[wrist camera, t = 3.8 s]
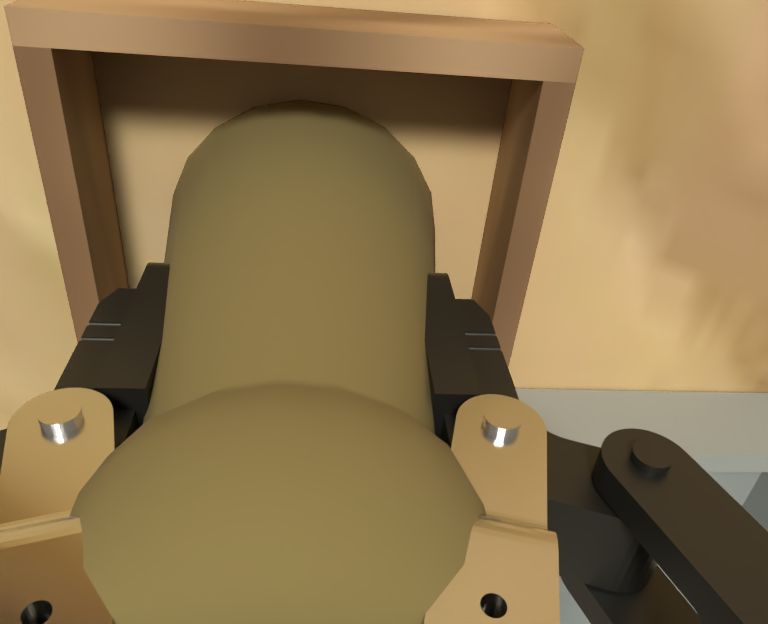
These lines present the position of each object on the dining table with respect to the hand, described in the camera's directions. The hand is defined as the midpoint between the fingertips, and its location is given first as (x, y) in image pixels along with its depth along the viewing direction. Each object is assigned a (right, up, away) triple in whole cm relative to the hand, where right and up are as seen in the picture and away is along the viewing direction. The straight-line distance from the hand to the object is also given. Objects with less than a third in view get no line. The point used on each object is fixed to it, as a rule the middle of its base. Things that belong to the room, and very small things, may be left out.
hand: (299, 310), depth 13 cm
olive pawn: (0, +2, +3) cm, 3 cm away
